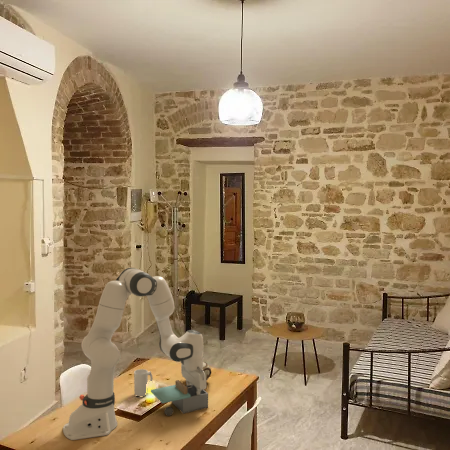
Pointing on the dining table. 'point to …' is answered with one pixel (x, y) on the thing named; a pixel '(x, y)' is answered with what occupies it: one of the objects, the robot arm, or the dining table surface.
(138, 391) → the mug
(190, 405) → the bin
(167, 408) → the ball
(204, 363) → the sugar bowl
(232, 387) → the dining table surface
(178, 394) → the lid
